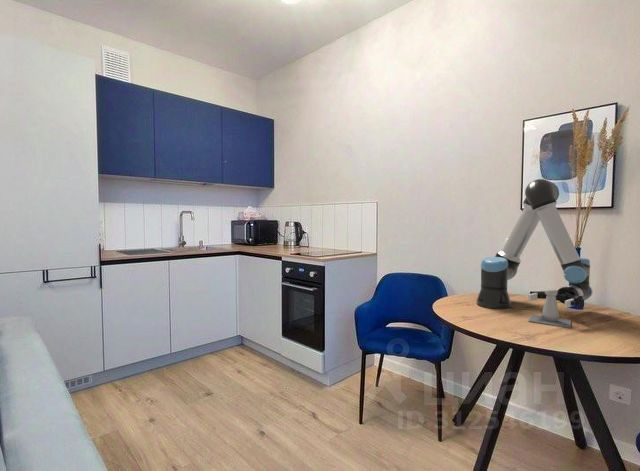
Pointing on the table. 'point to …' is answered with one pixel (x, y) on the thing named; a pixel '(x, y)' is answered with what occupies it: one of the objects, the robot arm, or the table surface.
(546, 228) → the robot arm
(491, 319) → the table surface
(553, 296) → the salt shaker
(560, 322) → the mat
